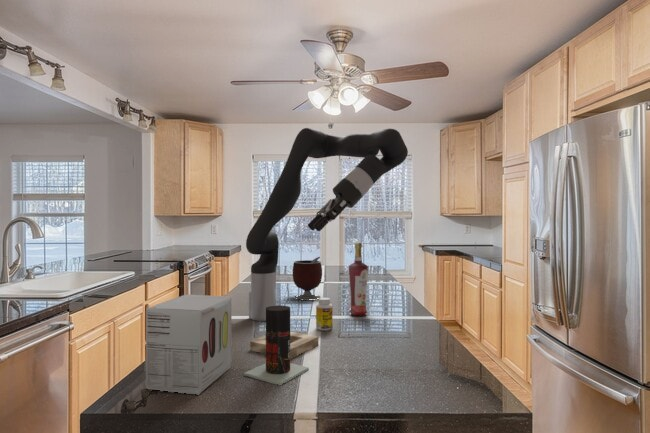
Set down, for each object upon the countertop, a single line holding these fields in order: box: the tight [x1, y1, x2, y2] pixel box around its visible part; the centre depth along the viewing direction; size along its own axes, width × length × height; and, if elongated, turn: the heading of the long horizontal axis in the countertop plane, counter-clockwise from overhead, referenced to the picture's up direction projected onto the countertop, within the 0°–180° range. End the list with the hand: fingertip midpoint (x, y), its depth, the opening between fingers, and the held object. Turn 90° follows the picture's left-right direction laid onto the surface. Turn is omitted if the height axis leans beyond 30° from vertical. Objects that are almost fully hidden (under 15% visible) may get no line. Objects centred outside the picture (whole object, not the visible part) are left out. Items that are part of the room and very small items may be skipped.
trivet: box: [243, 362, 309, 386], centre depth 98 cm, size 11×11×1 cm
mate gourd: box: [292, 256, 323, 300], centre depth 189 cm, size 16×14×20 cm
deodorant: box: [265, 304, 291, 374], centre depth 98 cm, size 6×6×15 cm
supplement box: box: [145, 294, 233, 396], centre depth 95 cm, size 17×13×18 cm
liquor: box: [348, 242, 369, 318], centre depth 156 cm, size 7×7×28 cm
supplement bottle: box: [315, 297, 334, 331], centre depth 137 cm, size 6×6×10 cm
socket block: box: [249, 331, 319, 360], centre depth 117 cm, size 14×14×2 cm
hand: (312, 228), depth 109 cm, fingers open, 8 cm apart
